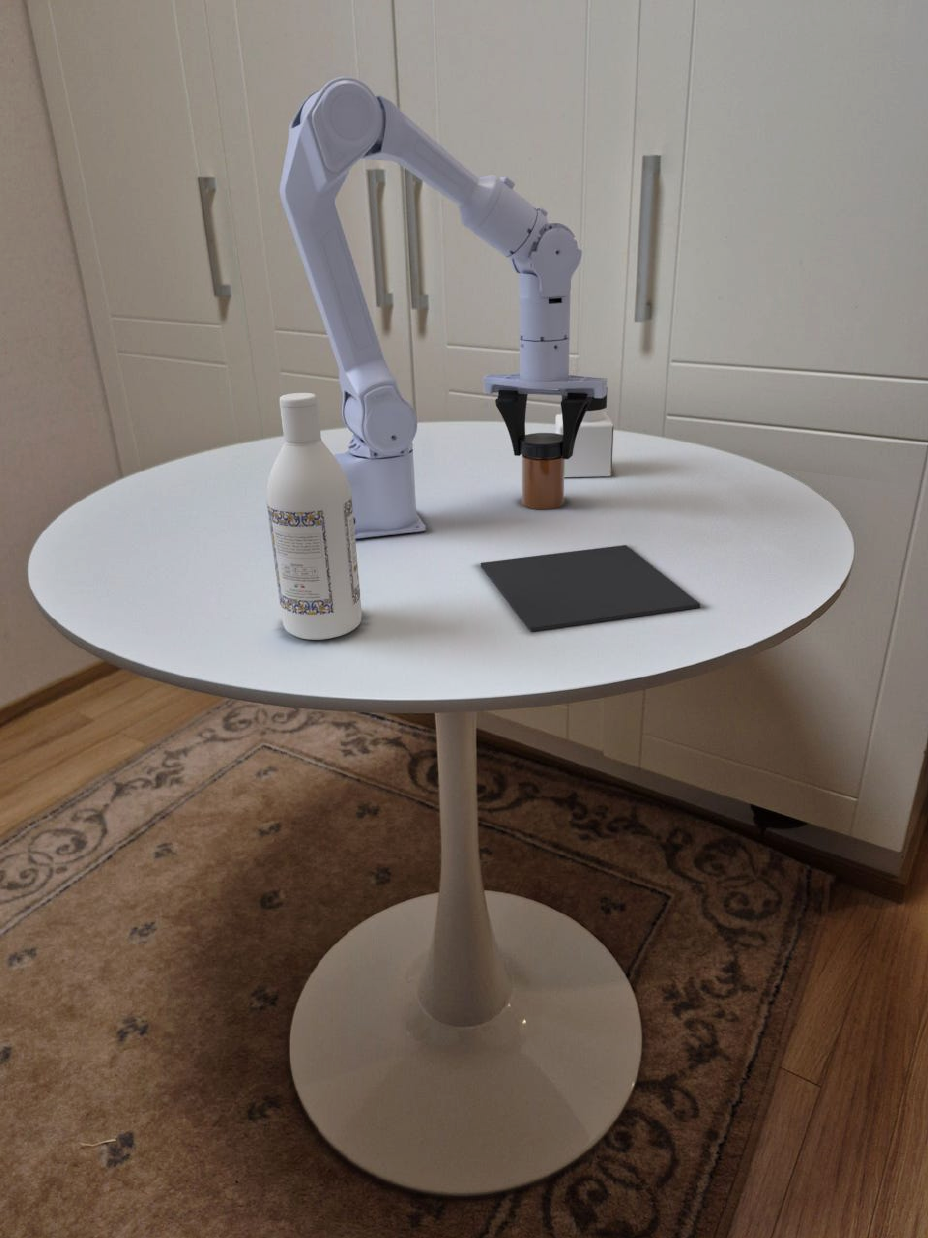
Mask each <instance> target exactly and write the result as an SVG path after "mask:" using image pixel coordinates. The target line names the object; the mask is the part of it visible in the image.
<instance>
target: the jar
mask: <svg viewBox="0 0 928 1238" xmlns="http://www.w3.org/2000/svg"><path fill="white" fill-rule="evenodd" d="M564 474H565V459H563V457H562V456H558V457H552V458H533V457H528V456H524V455H522V454H521V505H522V506H524V507H526V508H530V509H535V510H551V509H556V508H560V507H561V506H563V505H564V504H565V477H564Z"/></svg>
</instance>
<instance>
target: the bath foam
mask: <svg viewBox="0 0 928 1238" xmlns="http://www.w3.org/2000/svg"><path fill="white" fill-rule="evenodd" d="M279 408H280V416H281V425H282V432H283V440H284V443H283V444H282V447H281V449H280V450H279V453H278V455H277V457H276V459H275V461H274V463H273V465H272V467H271V470H270V473H269V476H268V479H267V485H266V509H267V516H268V524H269V529H270V530H269V531H270V538H271V545H272V546H271V547H272V553H273V560H274V561H273V563H274V568H275V569H274V570H275V577H276V583H277V590H278V591H277V592H278V599H279V604H280V612H281V620H282V625H283V628H284V629H285V631H286V632H287V633H289V634H290V635H292V636H294V637H296V638H299V639H303V640H310V641H311V640H312V641H319V640H320V641H321V640H329V639H334V638H338V637H341V636H344V635H347V634H349V633H350V632H352V631H354V630H355V629H356V628H357V627H358V626H359V625H360V624H361V621H362V617H363V613H362V602H361V587H360V586H361V585H360V576H359V565H358V556H357V555H358V553H357V542H356V539H355V530H354V519H353V508H352V497H351V492H350V487H349V483H348V480H347V477H346V475H345V473H344V471H343V469H342V467H341V466H340V464H339V463H338V461H337V460H336V458H335V457H334V456H333V455H334V454H333V453H332V452H331V450H330V449H329V447H328V446H327V445H326V444H325V443H324V442H323V441H322V438H321V437H322V435H321V424H320V414H319V404H318V397H317V395H316V394H315V393H311V392H294V393H293V392H292V393H287V394H283V395H281V396H280V397H279Z"/></svg>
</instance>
